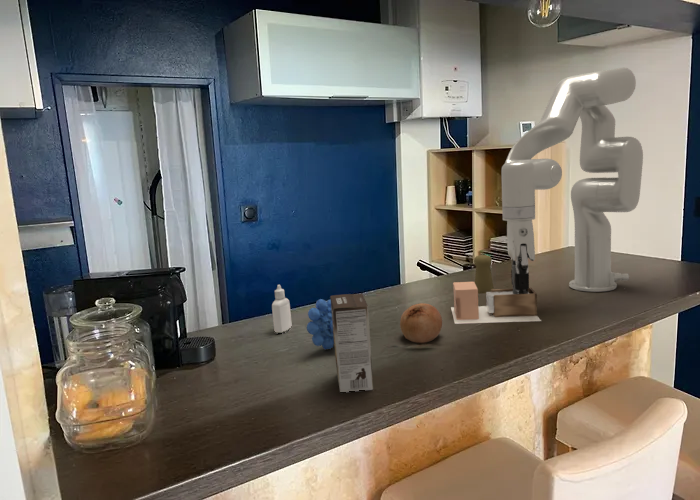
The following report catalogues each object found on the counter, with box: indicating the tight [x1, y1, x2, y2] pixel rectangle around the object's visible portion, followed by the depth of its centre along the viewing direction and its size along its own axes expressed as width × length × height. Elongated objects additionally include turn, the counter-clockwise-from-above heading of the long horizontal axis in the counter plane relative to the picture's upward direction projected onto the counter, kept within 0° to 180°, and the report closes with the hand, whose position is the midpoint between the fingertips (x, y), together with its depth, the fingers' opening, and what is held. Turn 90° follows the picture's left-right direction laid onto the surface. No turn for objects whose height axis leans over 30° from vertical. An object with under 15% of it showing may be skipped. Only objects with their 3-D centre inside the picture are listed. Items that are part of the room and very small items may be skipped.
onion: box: [399, 302, 443, 344], centre depth 117 cm, size 10×9×10 cm
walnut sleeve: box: [491, 287, 538, 317], centre depth 129 cm, size 10×6×6 cm, turn 83°
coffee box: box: [329, 293, 374, 393], centre depth 97 cm, size 9×6×16 cm
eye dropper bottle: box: [271, 284, 293, 333], centre depth 132 cm, size 4×6×12 cm
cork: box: [473, 254, 495, 295], centre depth 155 cm, size 6×6×11 cm
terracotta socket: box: [452, 281, 479, 320], centre depth 131 cm, size 5×8×8 cm, turn 173°
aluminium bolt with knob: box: [485, 264, 530, 313], centre depth 129 cm, size 10×4×11 cm, turn 83°
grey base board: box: [450, 305, 542, 325], centre depth 130 cm, size 20×14×1 cm
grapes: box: [306, 298, 334, 350], centre depth 115 cm, size 12×7×12 cm, turn 138°
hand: (520, 286), depth 128 cm, fingers closed on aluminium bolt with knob, 3 cm apart
